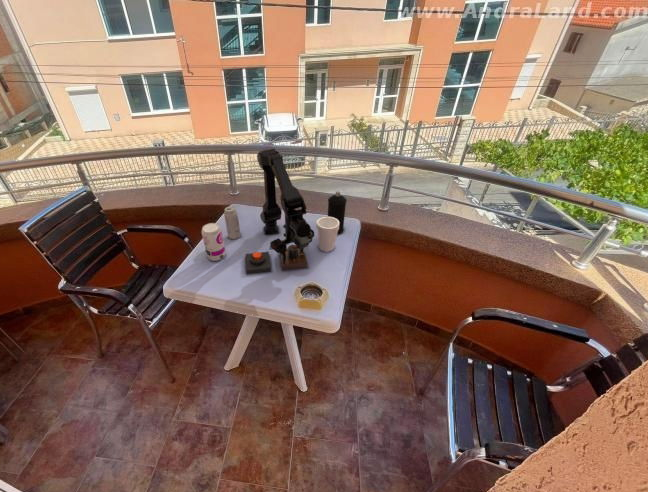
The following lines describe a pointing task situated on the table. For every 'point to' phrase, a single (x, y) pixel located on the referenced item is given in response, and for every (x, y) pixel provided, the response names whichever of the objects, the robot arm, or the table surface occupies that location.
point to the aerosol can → (337, 209)
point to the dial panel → (294, 261)
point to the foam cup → (327, 232)
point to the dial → (292, 251)
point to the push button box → (258, 263)
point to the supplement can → (213, 241)
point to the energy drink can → (232, 222)
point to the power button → (257, 256)
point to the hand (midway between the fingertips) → (293, 255)
